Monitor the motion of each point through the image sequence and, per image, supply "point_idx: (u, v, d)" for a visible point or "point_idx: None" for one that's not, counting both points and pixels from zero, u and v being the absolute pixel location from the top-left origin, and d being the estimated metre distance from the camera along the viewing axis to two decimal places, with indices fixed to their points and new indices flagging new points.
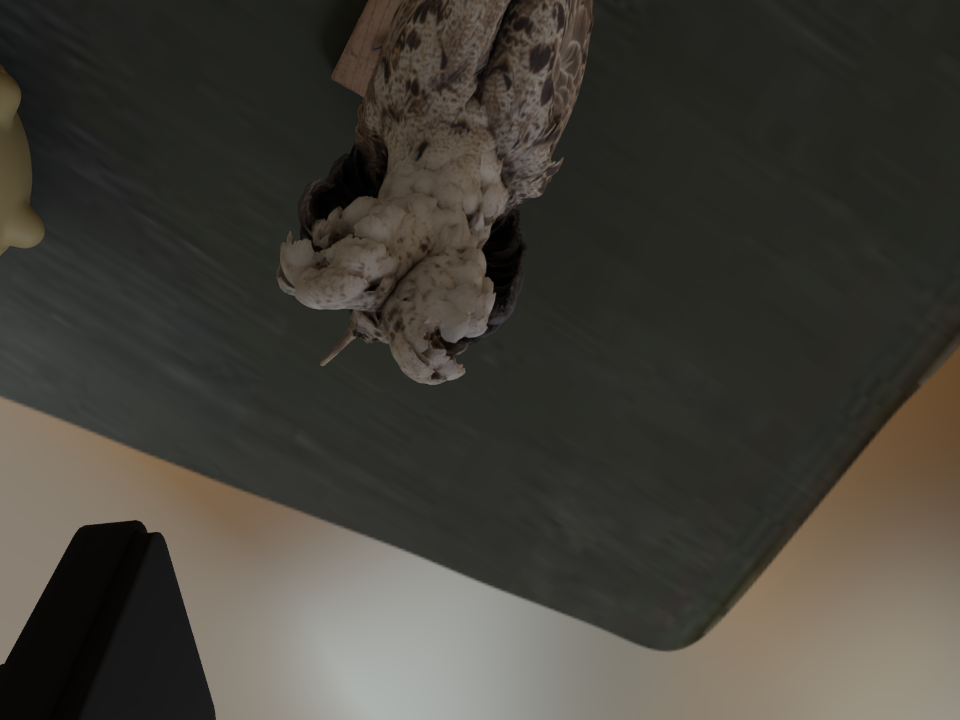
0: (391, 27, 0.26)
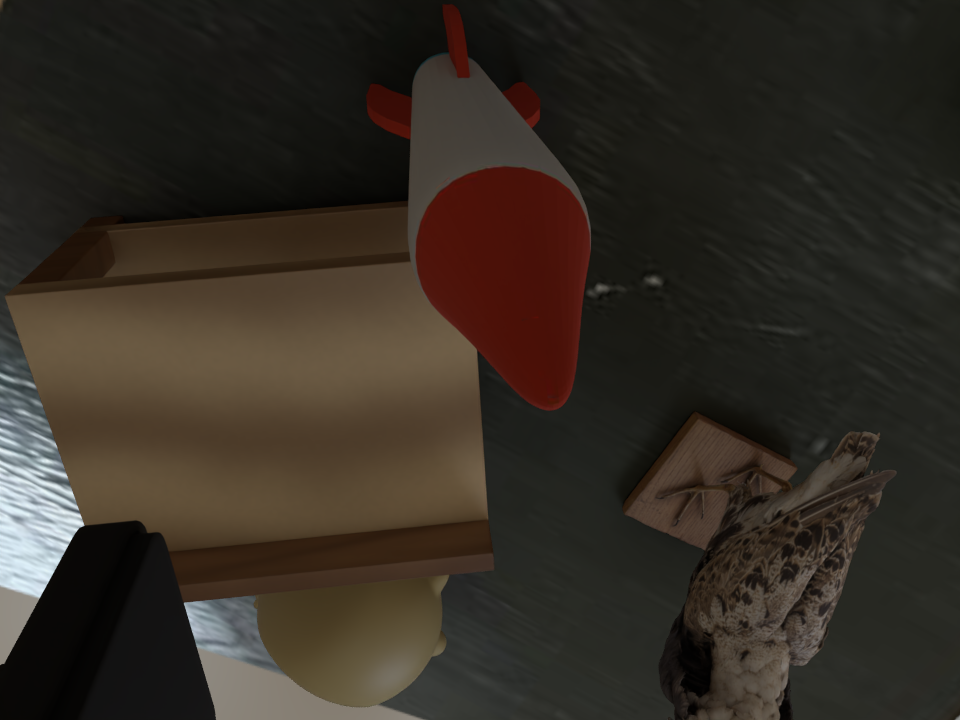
0: (724, 576, 0.42)
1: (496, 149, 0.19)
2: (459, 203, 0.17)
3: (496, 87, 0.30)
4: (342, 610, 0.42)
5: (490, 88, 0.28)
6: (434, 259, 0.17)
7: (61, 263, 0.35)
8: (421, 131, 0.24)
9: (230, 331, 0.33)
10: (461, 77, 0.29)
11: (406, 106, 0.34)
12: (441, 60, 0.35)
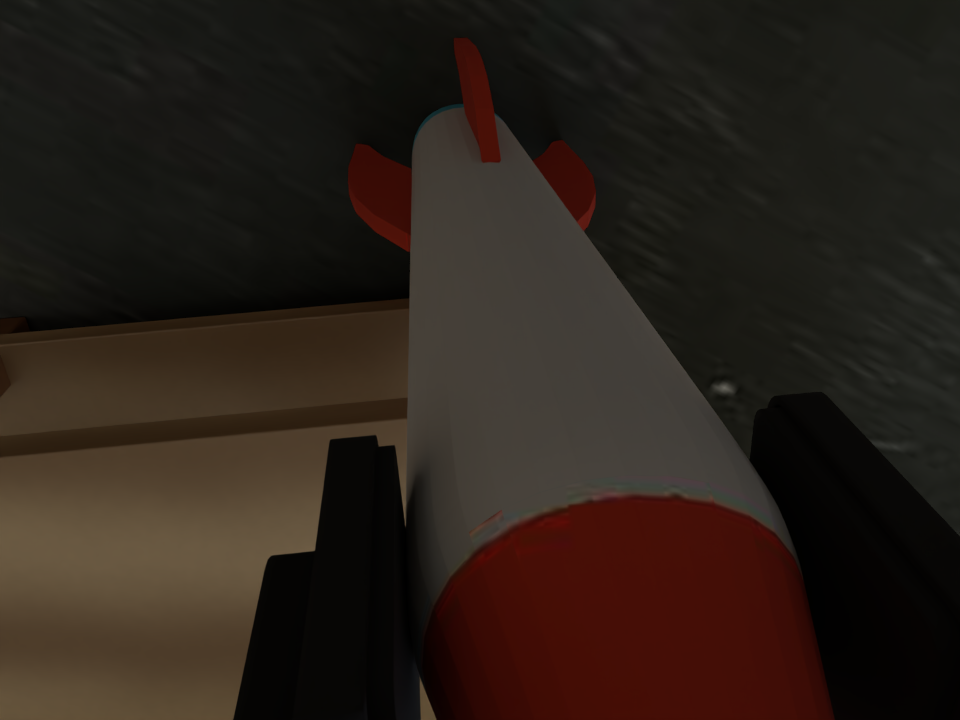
0: None
1: (601, 426, 0.08)
2: (532, 617, 0.07)
3: (539, 173, 0.20)
4: None
5: (535, 184, 0.18)
6: None
7: None
8: (429, 285, 0.14)
9: (150, 516, 0.23)
10: (488, 162, 0.19)
11: (404, 187, 0.24)
12: (453, 120, 0.25)
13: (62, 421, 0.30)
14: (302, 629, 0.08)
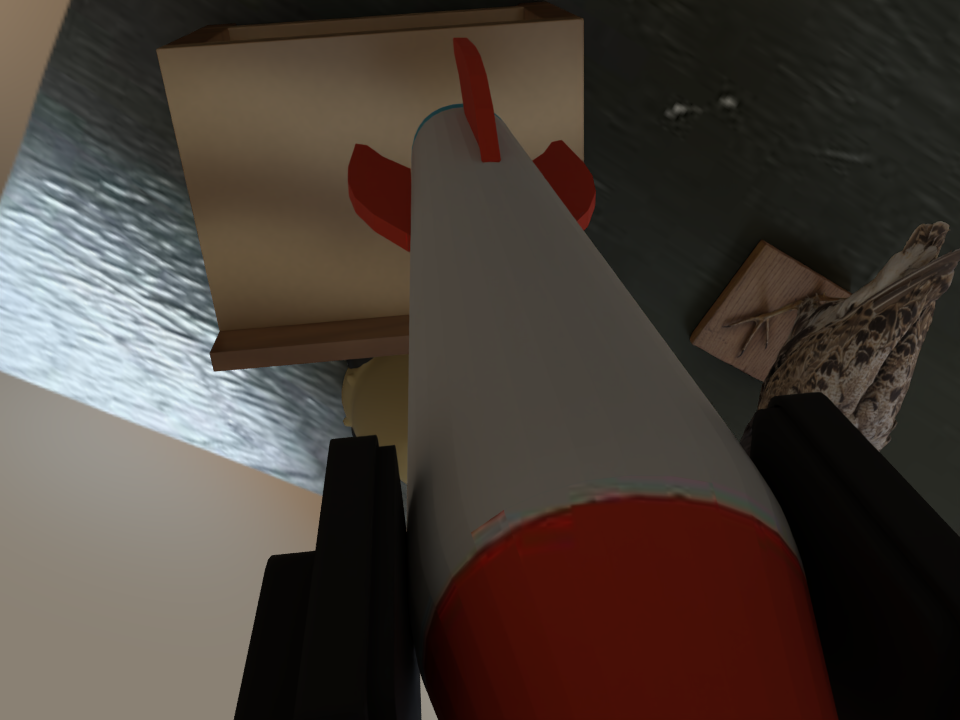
0: (799, 369, 0.44)
1: (604, 426, 0.08)
2: (535, 618, 0.07)
3: (539, 173, 0.20)
4: None
5: (535, 184, 0.18)
6: None
7: (197, 38, 0.37)
8: (429, 285, 0.14)
9: (359, 92, 0.36)
10: (488, 161, 0.19)
11: (403, 187, 0.24)
12: (453, 119, 0.25)
13: None
14: (303, 629, 0.08)
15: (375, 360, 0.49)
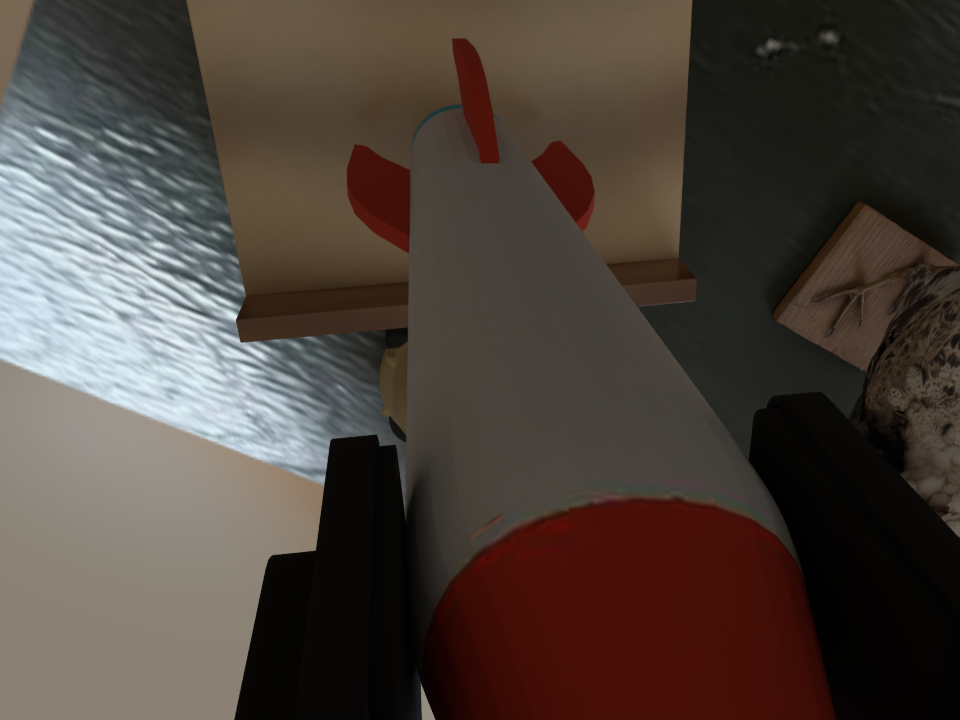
0: (923, 343, 0.38)
1: (602, 428, 0.08)
2: (533, 620, 0.07)
3: (538, 174, 0.20)
4: None
5: (534, 185, 0.18)
6: None
7: None
8: (428, 286, 0.14)
9: None
10: (487, 163, 0.19)
11: (402, 188, 0.24)
12: (452, 120, 0.25)
13: None
14: (303, 629, 0.08)
15: None
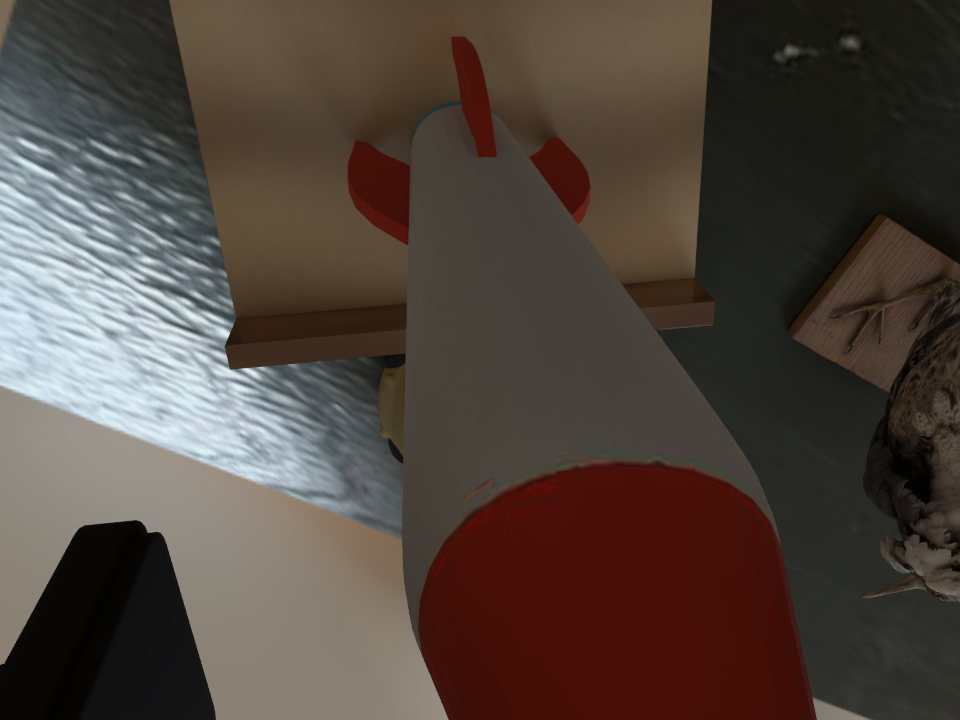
0: (951, 365, 0.36)
1: (589, 399, 0.09)
2: (520, 574, 0.07)
3: (534, 168, 0.21)
4: None
5: (530, 178, 0.18)
6: (463, 697, 0.07)
7: None
8: (426, 273, 0.14)
9: (423, 2, 0.27)
10: (484, 156, 0.20)
11: (402, 182, 0.24)
12: (451, 117, 0.25)
13: None
14: None
15: None
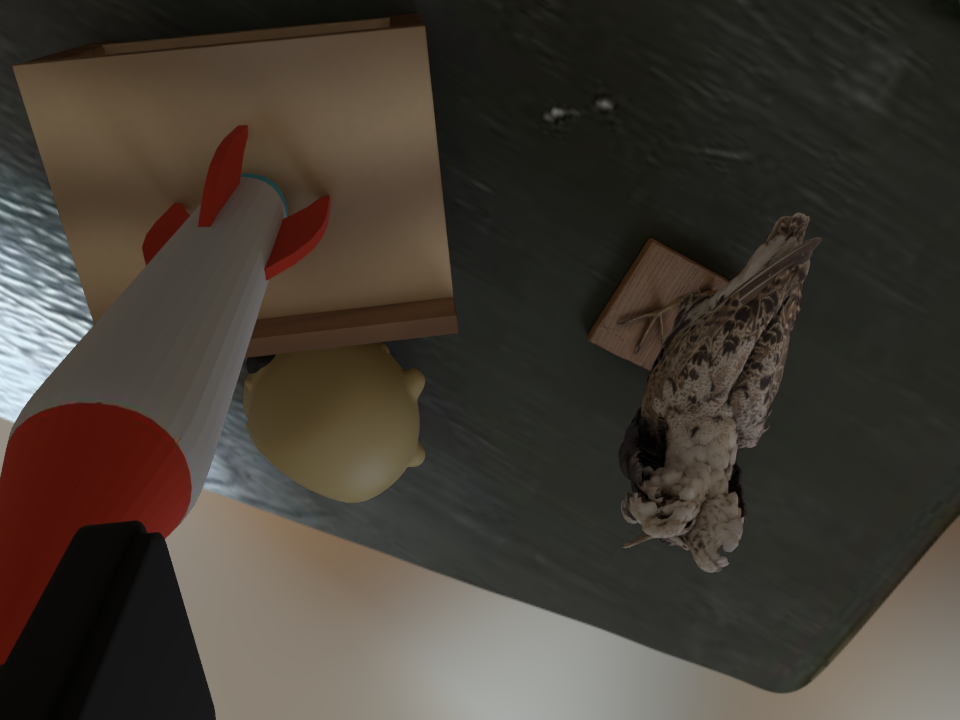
0: (674, 360, 0.46)
1: (87, 376, 0.19)
2: (18, 450, 0.17)
3: (245, 231, 0.30)
4: (324, 401, 0.46)
5: (219, 243, 0.28)
6: None
7: (62, 55, 0.39)
8: None
9: (213, 102, 0.37)
10: (201, 226, 0.29)
11: None
12: None
13: None
14: None
15: (271, 364, 0.50)
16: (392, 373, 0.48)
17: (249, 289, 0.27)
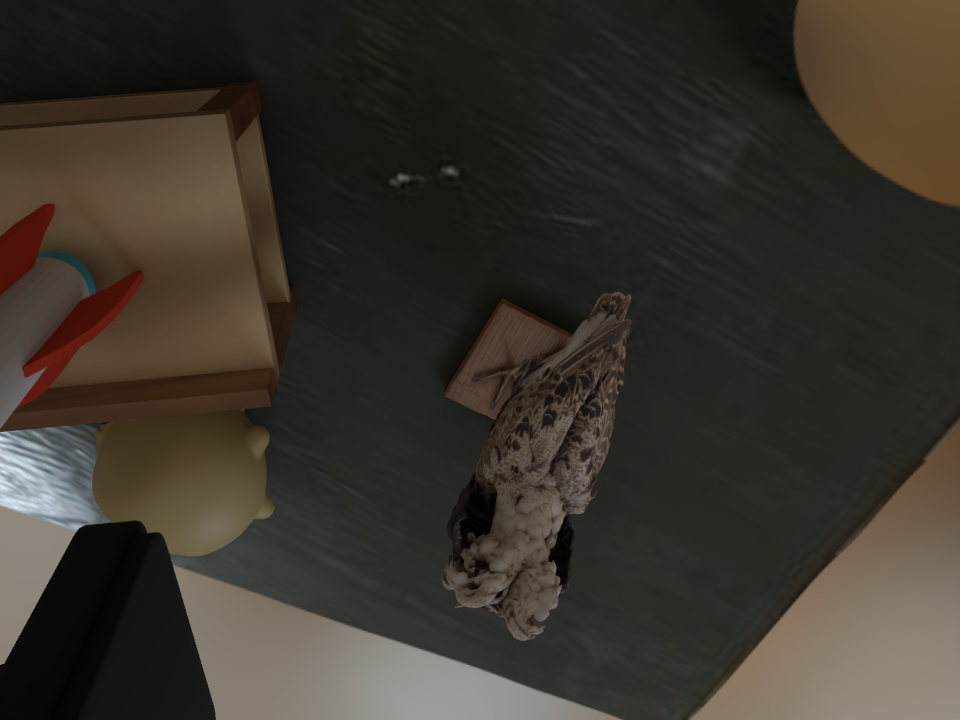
0: (501, 429, 0.47)
1: None
2: None
3: (3, 330, 0.31)
4: (157, 460, 0.47)
5: None
6: None
7: None
8: None
9: (18, 181, 0.38)
10: None
11: None
12: None
13: None
14: None
15: None
16: (233, 431, 0.49)
17: None
